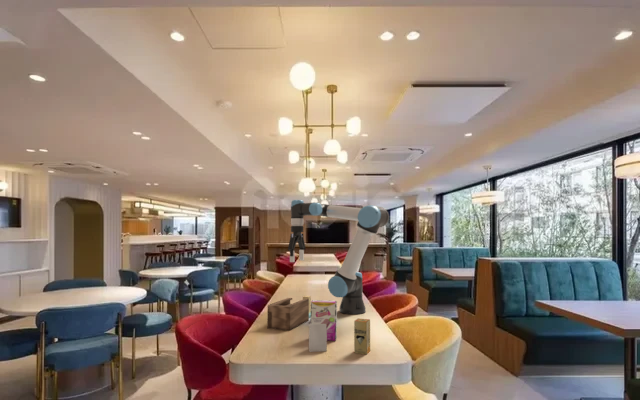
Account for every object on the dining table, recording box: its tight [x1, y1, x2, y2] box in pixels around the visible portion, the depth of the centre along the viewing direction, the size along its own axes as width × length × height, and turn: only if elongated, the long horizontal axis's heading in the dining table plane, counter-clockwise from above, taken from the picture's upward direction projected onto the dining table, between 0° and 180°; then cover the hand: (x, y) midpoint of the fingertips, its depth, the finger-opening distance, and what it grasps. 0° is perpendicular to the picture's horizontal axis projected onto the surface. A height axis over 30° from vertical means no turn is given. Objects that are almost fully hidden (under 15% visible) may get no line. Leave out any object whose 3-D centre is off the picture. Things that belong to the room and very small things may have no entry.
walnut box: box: [266, 297, 310, 331], centre depth 199 cm, size 12×23×11 cm, turn 159°
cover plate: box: [302, 295, 312, 319], centre depth 220 cm, size 9×20×11 cm, turn 159°
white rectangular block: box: [308, 323, 328, 353], centre depth 156 cm, size 4×7×10 cm, turn 96°
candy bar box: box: [310, 299, 338, 342], centre depth 171 cm, size 11×5×16 cm, turn 84°
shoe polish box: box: [353, 318, 371, 355], centre depth 153 cm, size 5×5×12 cm
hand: (296, 261), depth 236 cm, fingers open, 13 cm apart
